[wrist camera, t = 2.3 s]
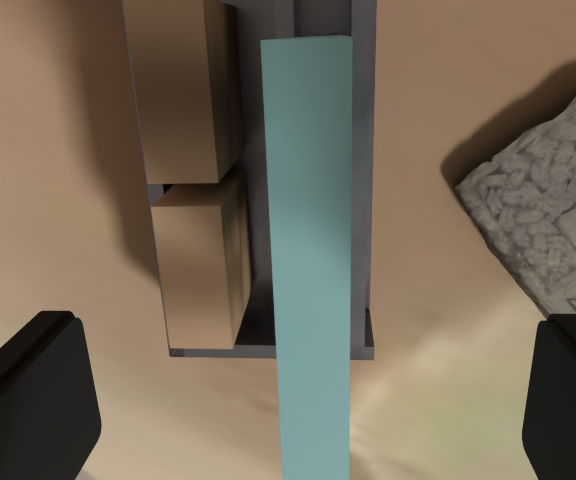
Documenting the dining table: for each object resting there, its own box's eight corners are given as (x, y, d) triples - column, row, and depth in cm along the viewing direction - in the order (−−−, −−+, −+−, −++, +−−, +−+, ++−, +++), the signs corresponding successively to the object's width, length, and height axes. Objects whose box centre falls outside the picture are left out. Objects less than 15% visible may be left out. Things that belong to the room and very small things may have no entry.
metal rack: (151, -45, 26) (112, -62, 21) (376, -57, 25) (385, -77, 20) (192, 311, 33) (169, 356, 29) (368, 313, 32) (373, 360, 28)
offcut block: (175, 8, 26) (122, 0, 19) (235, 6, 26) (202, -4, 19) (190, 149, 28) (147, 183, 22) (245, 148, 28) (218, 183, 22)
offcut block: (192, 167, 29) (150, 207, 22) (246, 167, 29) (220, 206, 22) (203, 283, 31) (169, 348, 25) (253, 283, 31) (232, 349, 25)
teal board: (308, 36, 26) (260, 40, 9) (340, 35, 26) (352, 37, 9) (312, 260, 30) (285, 538, 14) (340, 260, 30) (348, 542, 13)
